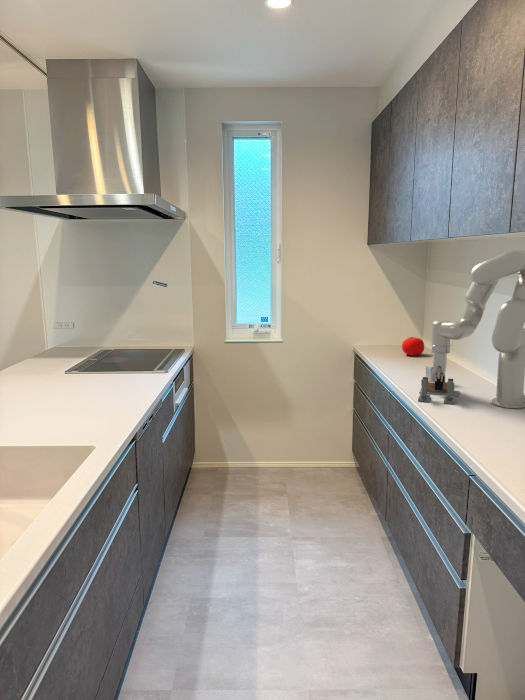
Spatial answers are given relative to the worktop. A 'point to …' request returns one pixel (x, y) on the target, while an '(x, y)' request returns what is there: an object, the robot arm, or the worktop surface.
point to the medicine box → (430, 373)
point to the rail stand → (425, 398)
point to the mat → (456, 393)
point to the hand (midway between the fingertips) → (439, 387)
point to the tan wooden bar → (432, 387)
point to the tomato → (413, 346)
